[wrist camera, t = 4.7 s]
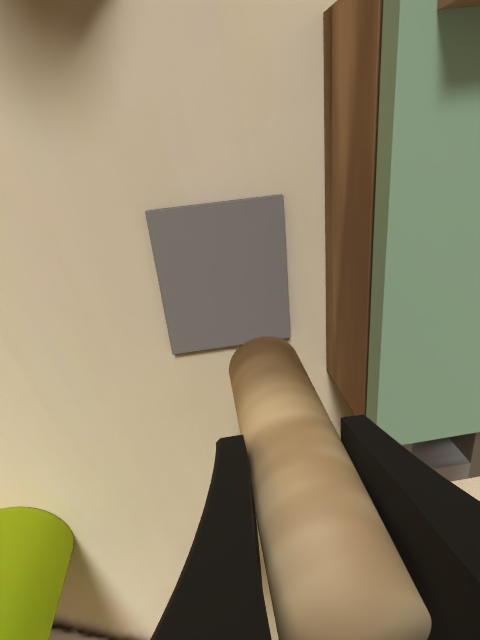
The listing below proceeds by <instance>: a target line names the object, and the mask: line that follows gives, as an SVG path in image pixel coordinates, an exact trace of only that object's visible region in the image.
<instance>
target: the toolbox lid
mask: <svg viewBox="0 0 480 640" xmlns="http://www.w3.org/2000/svg"><path fill="white" fill-rule="evenodd" d="M366 417H367V418H369V419H370V420H371V421H372V422H374V423H375V424H376V425H377V426H379V427H380V428H381V429H382V430H384V431H385V432H386V433H387V434H388V435H390V436H391V437H392V438H393V439H395V440H396V441H397V442H398V443H400V444H401V445H405V444H411V443H417V442H423V441H429V440H435V439H441V438H447V437H453V436H458V435H464V434H470V433H476V432H480V0H383V24H382V48H381V72H380V96H379V120H378V144H377V168H376V192H375V216H374V240H373V264H372V288H371V312H370V336H369V360H368V384H367V408H366Z"/></svg>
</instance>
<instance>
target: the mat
mask: <svg viewBox="0 0 480 640" xmlns="http://www.w3.org/2000/svg"><path fill="white" fill-rule="evenodd" d="M145 214H146V219H147V224H148V229H149V234H150V240H151V245H152V250H153V255H154V260H155V266H156V271H157V276H158V281H159V286H160V292H161V297H162V302H163V307H164V312H165V318H166V323H167V328H168V333H169V338H170V344H171V349H172V354H180V353H187V352H193V351H200V350H207V349H214V348H221V347H228V346H235V345H241V344H244V343H246V342H247V341H249V340H252V339H254V338H258V337H264V336H271V337H277V338H280V339H283V338H289V337H290V317H289V297H288V278H287V258H286V238H285V218H284V199H283V195H282V194H281V195H272V196H264V197H256V198H247V199H239V200H231V201H222V202H214V203H206V204H197V205H189V206H181V207H172V208H164V209H156V210H147V211H146V212H145Z"/></svg>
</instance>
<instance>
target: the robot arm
mask: <svg viewBox="0 0 480 640" xmlns="http://www.w3.org/2000/svg"><path fill="white" fill-rule="evenodd" d="M341 441H342V443H343V445H344V447H345V449H346V451H347V453H348V455H349V457H350V459H351V461H352V463H353V465H354V467H355V469H356V471H357V473H358V475H359V477H360V479H361V481H362V483H363V485H364V487H365V488H366V490H367V492H368V494H369V496H370V498H371V500H372V502H373V504H374V506H375V508H376V510H377V512H378V514H379V516H380V518H381V520H382V522H383V524H384V526H385V528H386V530H387V532H388V534H389V536H390V537H391V539H392V541H393V543H394V545H395V547H396V549H397V551H398V553H399V555H400V557H401V559H402V561H403V563H404V565H405V567H406V569H407V571H408V573H409V575H410V577H411V579H412V581H413V583H414V585H415V587H416V588H417V590H418V592H419V594H420V596H421V598H422V600H423V602H424V604H425V606H426V608H427V610H428V612H429V614H430V617H431V623H432V624H431V631H430V634H429V636H428V638H427V640H480V501H478V500H477V499H475V498H474V497H472V496H471V495H469V494H468V493H466V492H465V491H463V490H462V489H460V488H459V487H457V486H456V485H454V484H453V483H452V482H450V481H449V480H447V479H446V478H444V477H443V476H442V475H440V474H439V473H437V472H436V471H435V470H433V469H432V468H431V467H429V466H428V465H427V464H425V463H424V462H423V461H421V460H420V459H419V458H417V457H416V456H415V455H414V454H412V453H411V452H410V451H408V450H407V449H406V448H405V447H403V446H402V445H401V444H400V443H398V442H397V441H396V440H395V439H393V438H392V437H391V436H390V435H388V434H387V433H386V432H385V431H384V430H382V429H381V428H380V427H379V426H377V425H376V424H375V423H374V422H372V421H371V420H370V419H369V418H367V417H366V416H365V415H364V414H362V415H356V416H350V417H344V418H341ZM150 640H271V634H270V629H269V623H268V618H267V612H266V607H265V601H264V595H263V588H262V577H261V565H260V554H259V543H258V531H257V523H256V516H255V509H254V503H253V493H252V485H251V477H250V469H249V461H248V454H247V449H246V445H245V440H244V436H243V435H237V436H231V437H225V438H220V439H219V440H218V441H217V442H216V456H215V464H214V469H213V474H212V479H211V484H210V488H209V491H208V495H207V499H206V503H205V507H204V510H203V514H202V517H201V520H200V523H199V526H198V529H197V532H196V535H195V538H194V541H193V544H192V547H191V549H190V552H189V555H188V557H187V560H186V562H185V565H184V567H183V570H182V572H181V575H180V577H179V579H178V582H177V584H176V587H175V589H174V591H173V593H172V595H171V598H170V600H169V602H168V604H167V606H166V608H165V611H164V613H163V615H162V617H161V619H160V621H159V623H158V625H157V627H156V630H155V632H154V634H153V636H152V638H151V639H150Z"/></svg>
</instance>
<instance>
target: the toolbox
mask: <svg viewBox="0 0 480 640" xmlns="http://www.w3.org/2000/svg"><path fill="white" fill-rule="evenodd" d="M382 24H383V0H337V1H336V2H335V3H334V4H333V5H332V6H331V7H329V8H328V9H327V10H326V11H325V12H324V120H325V235H326V350H327V371H328V372H329V374H330V376H331V377H332V379H333V381H334V382H335V384H336V385H337V387H338V389H339V390H340V392H341V394H342V395H343V397H344V399H345V400H346V402H347V404H348V405H349V407H350V409H351V410H352V412H353V414H354V415H355V416H356V415H362V414H364V415H365V416H366V408H367V384H368V360H369V336H370V312H371V288H372V264H373V240H374V216H375V192H376V168H377V144H378V120H379V96H380V72H381V48H382ZM402 446H403V447H405V448H406V449H407V450H408V451H410V452H411V453H412V454H414V455H415V456H416V457H417V458H419V459H420V460H421V461H423V462H424V463H425V464H427V465H428V466H429V467H431V468H432V469H433V470H435V471H436V472H437V473H439V474H440V475H442V476H443V477H444V478H446V479H447V480H449V481H456V480H461V479H467V478H473V477H478V476H480V432H476V433H470V434H464V435H458V436H453V437H447V438H441V439H435V440H429V441H423V442H417V443H411V444H405V445H402Z"/></svg>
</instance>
